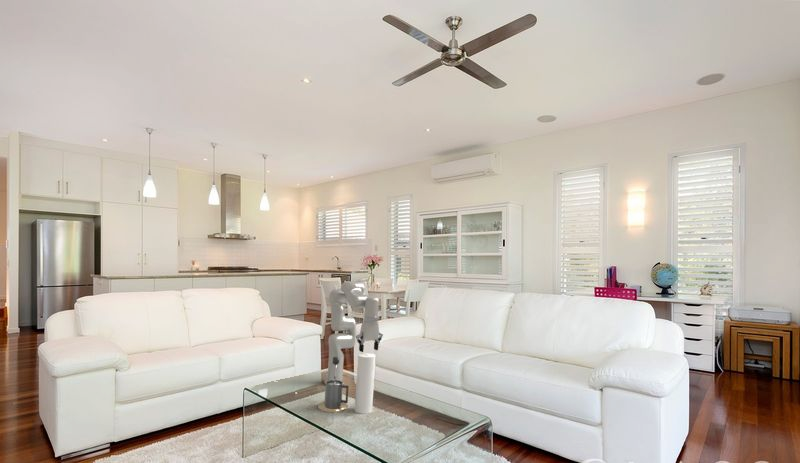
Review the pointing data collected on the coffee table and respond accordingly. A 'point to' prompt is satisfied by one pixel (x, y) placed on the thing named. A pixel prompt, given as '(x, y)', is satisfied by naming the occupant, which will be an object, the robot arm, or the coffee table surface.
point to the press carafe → (334, 398)
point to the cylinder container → (365, 383)
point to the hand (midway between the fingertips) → (368, 350)
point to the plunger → (335, 361)
